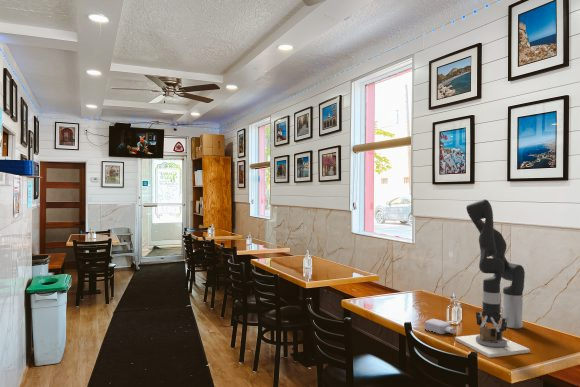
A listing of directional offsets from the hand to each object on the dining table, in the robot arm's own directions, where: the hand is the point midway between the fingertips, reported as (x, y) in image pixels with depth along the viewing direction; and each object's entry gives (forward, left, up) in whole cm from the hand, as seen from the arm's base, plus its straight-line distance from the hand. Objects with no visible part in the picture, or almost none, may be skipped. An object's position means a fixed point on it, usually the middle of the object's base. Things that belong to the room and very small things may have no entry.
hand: (491, 337), depth 192 cm
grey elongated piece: (-23, -9, -5) cm, 25 cm away
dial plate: (0, 0, -4) cm, 4 cm away
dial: (0, 0, -3) cm, 3 cm away
